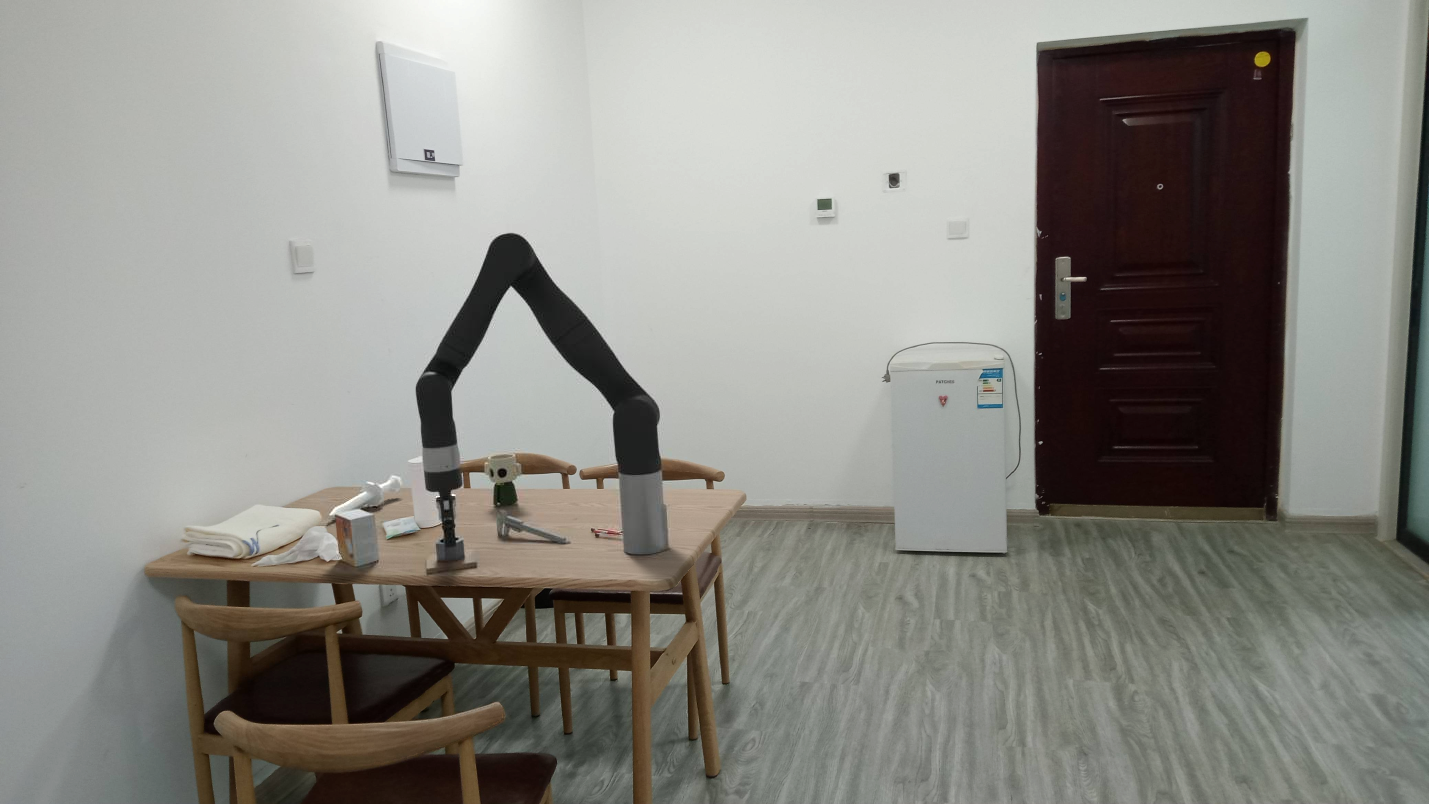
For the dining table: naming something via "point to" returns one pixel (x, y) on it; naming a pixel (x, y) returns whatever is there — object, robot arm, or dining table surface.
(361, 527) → the small box
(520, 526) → the caliper
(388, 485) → the dagger
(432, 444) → the robot arm
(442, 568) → the inverted t stand
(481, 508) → the dining table surface
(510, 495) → the character mug
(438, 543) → the collar ring
